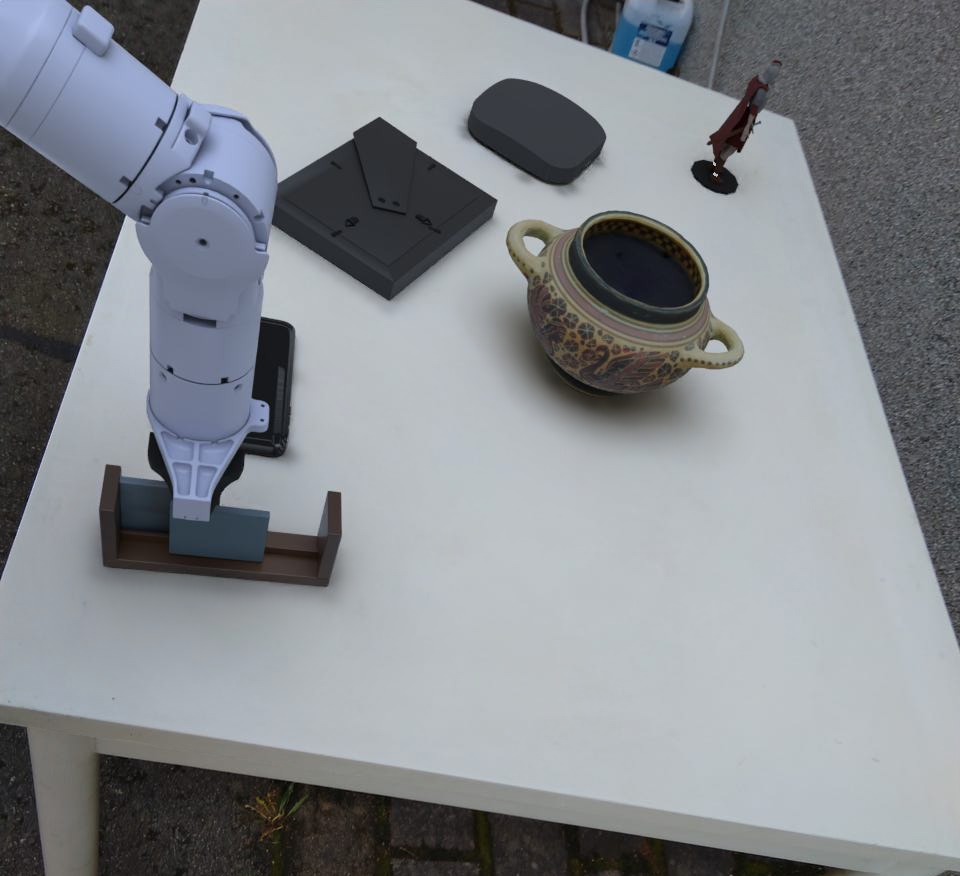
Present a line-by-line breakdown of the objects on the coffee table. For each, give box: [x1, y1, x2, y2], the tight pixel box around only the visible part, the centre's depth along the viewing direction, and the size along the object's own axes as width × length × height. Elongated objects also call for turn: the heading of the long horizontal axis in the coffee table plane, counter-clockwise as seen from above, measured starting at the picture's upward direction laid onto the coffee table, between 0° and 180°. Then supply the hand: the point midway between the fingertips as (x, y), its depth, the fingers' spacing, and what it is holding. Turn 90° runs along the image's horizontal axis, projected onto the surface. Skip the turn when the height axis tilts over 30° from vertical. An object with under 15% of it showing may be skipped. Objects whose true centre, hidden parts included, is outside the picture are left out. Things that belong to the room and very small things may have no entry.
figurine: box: [690, 59, 783, 196], centre depth 114 cm, size 7×7×15 cm
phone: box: [238, 316, 297, 457], centre depth 78 cm, size 8×1×15 cm
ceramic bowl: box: [505, 209, 745, 398], centre depth 88 cm, size 24×18×15 cm
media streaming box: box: [467, 77, 607, 184], centre depth 111 cm, size 15×15×3 cm
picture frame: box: [271, 116, 499, 301], centre depth 95 cm, size 16×3×21 cm
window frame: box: [98, 463, 343, 587], centre depth 67 cm, size 16×4×6 cm, turn 95°
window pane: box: [169, 500, 271, 562], centre depth 65 cm, size 7×1×8 cm, turn 95°
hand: (195, 501), depth 63 cm, fingers closed on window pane
